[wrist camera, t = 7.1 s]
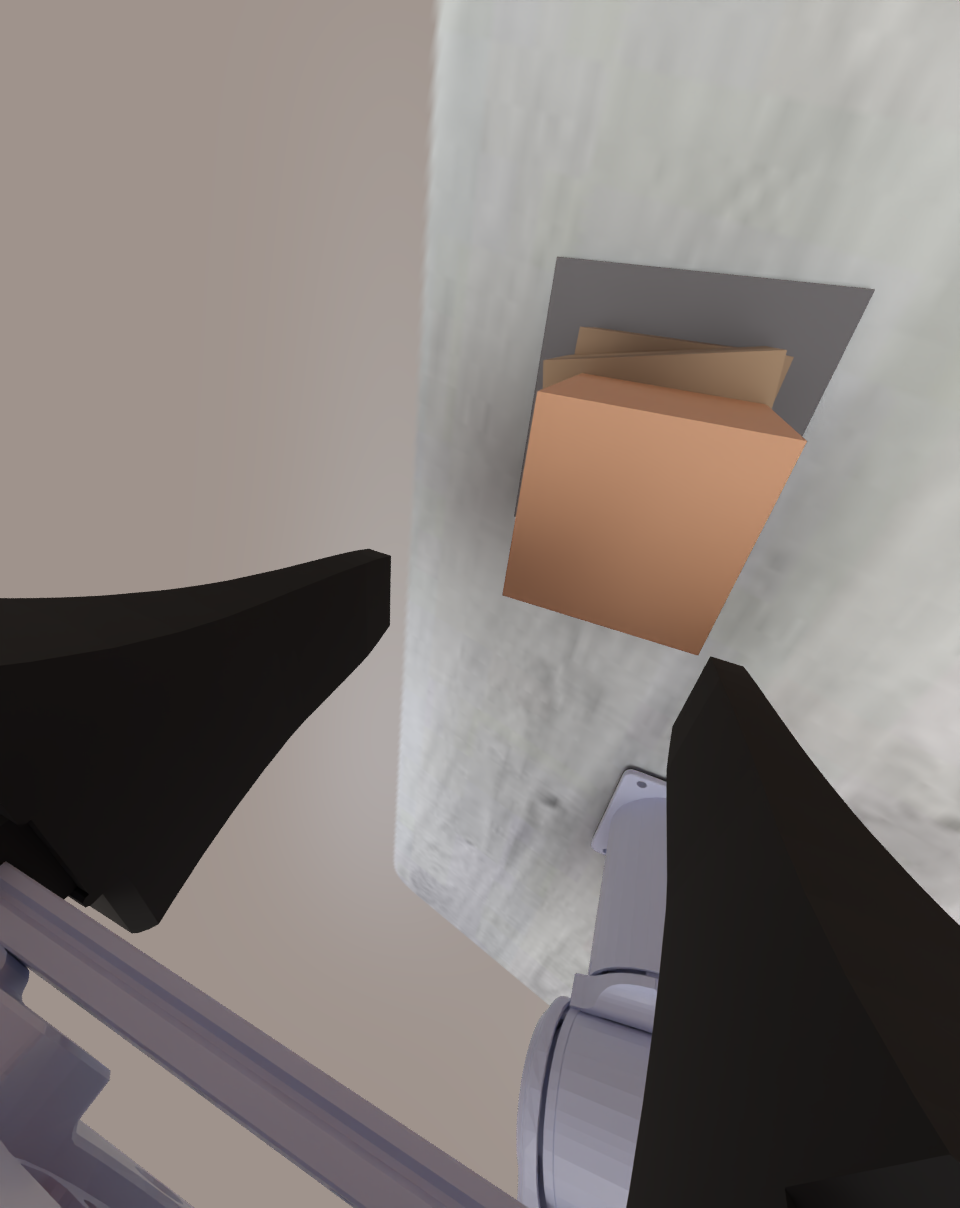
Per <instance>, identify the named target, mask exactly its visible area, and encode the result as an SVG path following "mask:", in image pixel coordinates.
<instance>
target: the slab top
mask: <svg viewBox="0 0 960 1208" xmlns="http://www.w3.org/2000/svg"><path fill="white" fill-rule="evenodd" d="M786 352H787V350H784V349H779V348H773V347H768V346H757V347H734V348H712V349H690V350H667V351H645V352H623V353H600V354H578V355H566V356H561V357H556V358H552V359H547V360H543V389H544V388H546V387H549V386H551V385H554V384H556V383H559V382H561V381H564V380H566V379H568V378H571V377H573V376H576V375H578V374H581V373H585V374H591V375H597V376H602V377H608V378H614V379H620V380H626V381H632V382H638V383H644V384H649V385H655V386H661V387H667V388H673V389H679V390H685V391H690V392H696V393H702V394H708V395H714V396H720V397H726V398H731V399H737V400H743V401H749V402H755V403H761V404H766V405H767V406H769V407H770V408H771V409H772V407H773V403H774V399H775V395H776V391H777V387H778V383H779V380H780V376H781V372H782V368H783V364H784V360H785V356H786Z"/></svg>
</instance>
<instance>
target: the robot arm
mask: <svg viewBox="0 0 960 1208" xmlns="http://www.w3.org/2000/svg"><path fill="white" fill-rule="evenodd" d="M390 572H391V556H390V555H387V554H384V553H380V552H377V551H374V550H371V549H364V550H358V551H353V552H347V553H343V554H339V555H335V556H331V557H327V558H323V559H319V560H315V561H311V562H307V563H303V564H299V565H295V566H291V567H287V568H283V569H279V570H274V571H270V572H265V573H261V574H256V575H252V576H247V577H243V578H238V579H233V580H228V581H223V582H217V583H211V584H205V585H198V586H192V587H185V588H178V589H171V590H161V591H151V592H139V593H128V594H117V595H105V596H87V597H64V598H15V599H14V598H11V599H10V598H0V1208H194V1207H193V1206H191V1205H190V1204H189V1203H188V1202H186V1201H185V1200H183V1199H182V1198H181V1197H180V1196H178V1195H177V1194H176V1193H175V1192H173V1191H172V1190H171V1189H169V1188H168V1187H167V1186H165V1185H164V1184H163V1183H161V1182H160V1181H159V1180H158V1179H156V1178H155V1177H153V1176H152V1175H151V1174H150V1173H148V1172H147V1171H146V1170H145V1169H143V1168H142V1167H141V1166H139V1165H138V1164H137V1163H135V1162H134V1161H133V1160H132V1159H130V1158H129V1157H128V1156H126V1155H125V1154H124V1153H123V1152H121V1151H120V1150H119V1149H117V1148H116V1147H115V1146H113V1145H112V1144H111V1143H110V1142H108V1141H107V1140H106V1139H104V1138H103V1137H102V1136H101V1135H99V1134H98V1133H97V1132H95V1131H94V1130H93V1129H91V1128H90V1127H89V1126H88V1125H86V1124H85V1123H84V1122H82V1121H81V1120H80V1118H81V1117H82V1115H83V1114H84V1112H85V1111H86V1110H87V1109H88V1107H89V1106H90V1104H91V1103H92V1102H93V1101H94V1100H95V1098H96V1097H97V1096H98V1094H99V1093H100V1092H101V1091H102V1089H103V1088H104V1087H105V1085H106V1084H107V1083H108V1081H109V1079H110V1070H109V1069H108V1068H107V1067H105V1066H104V1065H103V1064H101V1063H100V1062H99V1061H98V1060H96V1059H95V1058H94V1057H93V1056H91V1055H90V1054H89V1053H88V1052H86V1051H85V1050H84V1049H82V1048H81V1047H80V1046H78V1045H77V1044H76V1043H74V1042H73V1041H72V1040H71V1039H69V1038H68V1037H67V1036H65V1035H64V1034H63V1033H61V1032H60V1031H59V1030H57V1029H56V1028H55V1027H53V1026H52V1025H51V1024H49V1023H48V1022H47V1021H45V1020H44V1019H43V1018H41V1017H40V1016H38V1015H37V1014H36V1013H35V1012H33V1011H32V1010H31V1009H29V1008H28V1007H27V1006H25V1004H24V1003H23V1002H22V993H23V990H24V988H25V986H26V984H27V982H28V978H29V970H28V968H29V969H30V970H32V971H33V972H34V973H36V974H37V975H38V976H40V977H41V978H43V979H44V980H45V981H46V982H48V983H49V984H51V985H52V986H53V987H55V988H56V989H57V990H59V991H60V992H61V993H63V994H65V995H66V996H67V997H69V998H70V999H71V1000H72V1001H74V1002H75V1003H77V1004H78V1005H79V1006H81V1007H82V1008H83V1009H85V1010H86V1011H87V1012H89V1013H90V1014H91V1015H93V1016H94V1017H95V1018H97V1019H98V1020H99V1021H101V1022H102V1023H104V1024H105V1025H106V1026H108V1027H109V1028H110V1029H112V1030H113V1031H114V1032H116V1033H117V1034H118V1035H120V1036H121V1037H123V1038H124V1039H125V1040H127V1041H128V1042H129V1043H131V1044H132V1045H133V1046H135V1047H136V1048H137V1049H139V1050H140V1051H142V1052H143V1053H144V1054H146V1055H147V1056H148V1057H150V1058H151V1059H152V1060H154V1061H155V1062H156V1063H158V1064H159V1065H161V1066H162V1067H163V1068H165V1069H166V1070H168V1071H169V1072H170V1073H171V1074H173V1075H174V1076H176V1077H177V1078H178V1079H180V1080H181V1081H182V1082H184V1083H185V1084H187V1085H188V1086H189V1087H190V1088H192V1089H193V1090H195V1091H196V1092H197V1093H199V1094H200V1095H201V1096H203V1097H204V1098H205V1099H207V1100H208V1101H210V1102H211V1103H212V1104H213V1105H215V1106H216V1107H218V1108H219V1109H220V1110H222V1111H223V1112H224V1113H226V1114H227V1115H229V1116H230V1117H231V1118H232V1119H234V1120H235V1121H237V1122H238V1123H239V1124H241V1125H242V1126H243V1127H245V1128H246V1129H248V1130H249V1131H250V1132H251V1133H253V1134H254V1135H256V1136H257V1137H258V1138H260V1139H261V1140H262V1141H264V1142H265V1143H266V1144H268V1145H269V1146H270V1147H272V1148H274V1149H275V1150H276V1151H277V1152H279V1153H280V1154H281V1155H283V1156H284V1157H285V1158H287V1159H288V1160H290V1161H291V1162H292V1163H294V1164H295V1165H296V1166H298V1167H299V1168H300V1169H302V1170H303V1171H305V1172H306V1173H307V1174H309V1175H310V1176H311V1177H313V1178H314V1179H315V1180H317V1181H318V1182H319V1183H321V1184H322V1185H324V1186H325V1187H326V1188H328V1189H329V1190H330V1191H332V1192H333V1193H334V1194H336V1195H337V1196H339V1197H340V1198H341V1199H342V1200H344V1201H345V1202H347V1203H348V1204H349V1205H351V1206H352V1207H353V1208H960V925H958V924H957V923H956V922H955V921H954V920H953V919H952V918H951V917H950V916H949V915H948V914H947V913H946V912H945V911H944V910H943V909H942V908H941V907H940V906H939V905H938V904H937V903H936V902H935V901H934V900H933V899H932V898H931V897H930V896H929V895H928V894H927V893H926V892H925V891H924V890H923V889H922V887H921V886H920V885H919V884H918V883H917V882H916V881H915V880H914V879H913V878H912V877H911V876H910V875H909V874H908V873H907V872H906V870H905V869H904V868H903V867H902V866H901V865H900V864H899V863H898V862H897V861H896V860H895V859H894V858H893V856H892V855H891V854H890V853H889V852H888V851H887V850H886V849H885V848H884V847H883V846H882V845H881V843H880V842H879V841H878V840H877V839H876V838H875V837H874V836H873V835H872V834H871V832H870V831H869V830H868V829H867V828H866V827H865V826H864V824H863V823H862V822H861V821H860V820H859V819H858V818H857V816H856V815H855V814H854V813H853V812H852V810H851V809H850V808H849V807H848V806H847V804H846V803H845V802H844V801H843V799H842V798H841V797H840V796H839V795H838V793H837V792H836V791H835V790H834V788H833V787H832V786H831V785H830V784H829V782H828V781H827V780H826V779H825V777H824V776H823V775H822V774H821V772H820V771H819V770H818V768H817V767H816V766H815V764H814V763H813V762H812V761H811V759H810V758H809V757H808V755H807V754H806V753H805V751H804V750H803V749H802V747H801V746H800V745H799V743H798V742H797V741H796V739H795V738H794V736H793V735H792V734H791V732H790V731H789V730H788V728H787V727H786V725H785V724H784V723H783V721H782V720H781V718H780V717H779V715H778V714H777V713H776V711H775V710H774V708H773V707H772V705H771V704H770V703H769V701H768V700H767V698H766V697H765V695H764V694H763V693H762V691H761V690H760V688H759V687H758V685H757V684H756V683H755V681H754V680H753V678H752V677H751V676H750V674H749V673H748V672H747V671H746V669H745V668H744V667H743V666H739V665H736V664H733V663H730V662H727V661H724V660H720V659H717V658H714V657H711V656H710V658H709V660H708V662H707V664H706V666H705V667H704V669H703V671H702V673H701V675H700V677H699V679H698V680H697V682H696V684H695V686H694V688H693V690H692V691H691V693H690V695H689V697H688V699H687V701H686V703H685V704H684V706H683V708H682V710H681V712H680V714H679V716H678V717H677V719H676V721H675V723H674V725H673V727H672V734H671V741H670V747H669V755H668V763H667V778H666V782H665V781H663V780H660V779H658V778H655V777H652V776H650V775H647V774H644V773H642V772H639V771H636V770H633V769H628V770H626V771H625V772H624V773H623V775H622V777H621V779H620V782H619V784H618V786H617V788H616V790H615V792H614V794H613V796H612V798H611V801H610V803H609V805H608V807H607V809H606V811H605V813H604V815H603V818H602V820H601V822H600V824H599V826H598V828H597V830H596V832H595V834H594V837H593V839H592V843H591V847H592V848H593V849H594V850H595V851H597V852H599V853H601V854H603V855H606V857H605V864H604V870H603V877H602V884H601V890H600V897H599V904H598V910H597V917H596V923H595V930H594V937H593V943H592V950H591V957H590V963H589V970H588V975H584V974H579V973H576V974H575V977H574V983H573V988H572V994H571V998H569V997H566V996H560V997H558V998H556V999H555V1000H554V1001H553V1003H552V1004H551V1005H550V1007H549V1008H548V1009H547V1010H546V1011H545V1012H544V1013H543V1015H542V1016H541V1018H540V1019H539V1021H538V1023H537V1025H536V1027H535V1030H534V1032H533V1035H532V1038H531V1041H530V1044H529V1048H528V1052H527V1055H526V1060H525V1064H524V1069H523V1074H522V1080H521V1087H520V1094H519V1103H518V1114H517V1158H518V1159H517V1160H518V1197H517V1200H516V1199H514V1198H513V1197H511V1196H510V1195H508V1194H507V1193H505V1192H504V1191H502V1190H501V1189H499V1188H498V1187H496V1186H495V1185H493V1184H492V1183H490V1182H489V1181H487V1180H486V1179H484V1178H483V1177H481V1176H480V1175H478V1174H477V1173H475V1172H474V1171H472V1170H471V1169H469V1168H468V1167H466V1166H465V1165H463V1164H462V1163H460V1162H458V1161H457V1160H456V1159H454V1158H452V1157H451V1156H450V1155H448V1154H447V1153H445V1152H444V1151H442V1150H440V1149H439V1148H438V1147H436V1146H434V1145H433V1144H431V1143H430V1142H428V1141H427V1140H425V1139H424V1138H422V1137H421V1136H419V1135H418V1134H416V1133H415V1132H413V1131H412V1130H410V1129H409V1128H407V1127H406V1126H404V1125H403V1124H401V1123H400V1122H398V1121H397V1120H395V1119H394V1118H392V1117H391V1116H389V1115H388V1114H386V1113H385V1112H383V1111H382V1110H380V1109H379V1108H377V1107H376V1106H374V1105H372V1104H371V1103H370V1102H368V1101H366V1100H365V1099H364V1098H362V1097H361V1096H359V1095H358V1094H356V1093H355V1092H353V1091H351V1090H350V1089H349V1088H347V1087H346V1086H344V1085H342V1084H341V1083H339V1082H338V1081H336V1080H335V1079H333V1078H332V1077H330V1076H329V1075H327V1074H326V1073H324V1072H323V1071H321V1070H320V1069H318V1068H317V1067H315V1066H314V1065H312V1064H311V1063H309V1062H308V1061H306V1060H305V1059H303V1058H302V1057H300V1056H299V1055H297V1054H296V1053H294V1052H292V1051H291V1050H289V1049H288V1048H287V1047H285V1046H283V1045H282V1044H281V1043H279V1042H278V1041H276V1040H275V1039H273V1038H272V1037H270V1036H269V1035H267V1034H265V1033H264V1032H263V1031H261V1030H260V1029H258V1028H257V1027H255V1026H254V1025H252V1024H251V1023H249V1022H247V1021H246V1020H244V1019H243V1018H241V1017H240V1016H238V1015H237V1014H235V1013H234V1012H232V1011H231V1010H229V1009H228V1008H226V1007H225V1006H223V1005H222V1004H220V1003H219V1002H217V1001H216V1000H214V999H213V998H211V997H210V996H208V995H207V994H205V993H204V992H202V991H201V990H199V989H198V988H196V987H195V986H193V985H192V984H190V983H189V982H187V981H186V980H184V979H182V978H181V977H180V976H178V975H177V974H175V973H173V972H172V971H170V970H169V969H168V968H166V967H164V966H163V965H162V964H160V963H158V962H157V961H155V960H154V959H152V958H151V957H149V956H148V955H146V954H145V953H143V952H142V951H140V950H139V949H137V948H136V947H134V946H133V945H131V944H130V943H128V942H127V941H125V940H124V939H122V938H121V937H119V936H118V935H116V934H115V933H113V932H112V931H110V930H109V929H107V928H106V927H104V926H103V925H101V924H100V923H98V922H97V921H95V920H94V919H92V918H91V917H89V916H87V915H86V914H85V913H83V912H81V911H80V910H79V909H77V908H76V907H74V906H73V905H71V904H70V903H68V902H66V901H65V900H64V899H65V898H66V897H67V896H69V897H70V898H72V899H74V900H75V901H76V902H78V903H79V904H81V905H82V906H84V907H87V906H91V907H92V908H94V909H96V910H97V911H98V912H100V913H102V914H103V915H105V916H106V917H108V918H109V919H111V920H112V921H114V922H115V923H117V924H118V925H120V926H121V927H123V928H124V929H126V930H128V931H129V932H131V933H139V932H142V931H145V930H148V929H150V928H152V927H154V926H156V925H158V924H159V923H160V921H161V919H162V918H163V916H164V915H165V913H166V911H167V910H168V908H169V907H170V905H171V903H172V902H173V900H174V899H175V897H176V895H177V893H179V891H180V889H181V888H182V886H183V885H184V883H185V882H186V880H187V879H188V877H189V876H190V874H191V873H192V871H193V869H194V867H195V866H196V865H197V863H198V862H199V860H200V859H201V857H202V855H203V854H204V853H205V851H206V850H207V848H208V847H209V845H210V844H211V843H212V841H213V840H214V838H215V837H216V835H217V834H218V833H219V831H220V829H221V828H222V827H223V825H224V824H225V823H226V821H227V820H228V818H229V816H230V815H231V814H232V813H233V811H234V810H235V808H236V807H237V805H238V804H239V803H240V801H241V800H242V799H243V798H244V796H245V795H246V793H247V792H248V791H249V789H250V788H251V787H252V785H253V784H254V783H255V781H256V780H257V779H258V777H259V776H260V774H261V773H262V772H263V771H264V769H265V768H266V767H267V766H268V764H269V763H270V762H271V761H272V759H273V758H274V757H275V756H276V754H277V753H278V752H279V751H280V749H281V748H282V747H283V745H284V744H285V743H286V742H287V740H288V739H289V738H290V737H291V736H292V734H293V733H294V732H295V731H296V730H297V729H298V728H299V727H300V726H301V724H302V723H303V722H304V721H305V720H306V719H307V718H308V717H309V716H310V715H311V714H312V713H313V712H314V711H315V710H316V709H317V708H318V707H319V706H320V705H321V704H322V703H323V701H325V700H326V699H327V698H328V697H329V696H330V695H331V694H332V692H333V691H334V690H335V689H336V688H337V687H338V686H339V685H340V684H341V683H342V682H343V681H344V680H345V679H346V678H347V677H348V676H349V675H350V674H351V673H352V672H353V671H354V670H355V669H356V668H357V667H358V665H360V664H361V663H362V661H363V660H364V659H365V658H366V657H367V656H368V655H369V653H370V652H371V651H372V650H373V648H374V647H375V646H376V644H377V643H378V642H379V640H380V639H381V637H382V636H383V634H384V633H385V631H386V630H387V629H388V627H389V626H390V576H391V573H390ZM640 781H643V782H640Z"/></svg>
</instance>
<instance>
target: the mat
mask: <svg viewBox="0 0 960 1208" xmlns="http://www.w3.org/2000/svg"><path fill="white" fill-rule="evenodd" d="M874 291H875V289H866V288H856V287H846V286H836V285H827V284H817V283H807V282H798V281H788V280H778V279H768V278H759V277H749V276H739V275H729V274H720V273H710V272H700V271H691V270H681V269H671V268H661V267H652V266H642V265H632V264H623V263H613V262H603V261H593V260H584V259H574V258H564V257H557V261H556V267H555V273H554V279H553V285H552V291H551V297H550V303H549V309H548V315H547V321H546V327H545V333H544V339H543V345H542V351H541V357H540V363H539V369H538V375H537V382H536V388H535V394H534V400H533V406H532V412H531V418H530V424H529V430H528V436H527V442H526V448H525V454H524V460H523V466H522V472H521V478H520V484H519V490H518V496H517V502H516V509H515V515H514V517H516V513H517V507H518V501H519V495H520V489H521V484H522V478H523V472H524V466H525V460H526V454H527V449H528V443H529V437H530V431H531V425H532V419H533V413H534V408H535V402H536V396H537V391H539V390H541V389H543V360H547V359H552V358H556V357H561V356H566V355H574V354H575V349H576V344H577V339H578V334H579V329H580V327H597V328H604V329H611V330H618V331H626V332H633V333H640V334H647V335H654V336H661V337H668V338H675V339H682V340H690V341H697V342H704V343H711V344H718V345H725V346H732V347H757V346H768V347H773V348H779V349H784V350H787V352H786V355H788V356H792V357H794V358H793V360H792V362H791V365H790V367H789V369H788V371H787V374H786V376H785V378H784V380H783V383H782V385H781V387H780V389H779V392H778V394H777V396H776V398H775V401H774V403H773V407H772V410H773V411H774V412H775V413H776V414H777V415H779V416H780V417H781V418H782V419H783V420H784V421H785V422H786V423H787V424H789V425H790V426H791V427H792V428H793V429H794V430H795V431H796V432H797V433H799V434H800V435H801V436H803V434H804V432H805V430H806V428H807V426H808V424H809V422H810V420H811V418H812V416H813V414H814V412H815V409H816V407H817V405H818V403H819V401H820V399H821V397H822V395H823V393H824V391H825V389H826V387H827V385H828V383H829V381H830V379H831V377H832V375H833V373H834V371H835V369H836V367H837V365H838V363H839V361H840V359H841V357H842V355H843V353H844V351H845V349H846V347H847V345H848V343H849V341H850V339H851V337H852V335H853V333H854V331H855V329H856V327H857V325H858V323H859V321H860V319H861V317H862V315H863V313H864V311H865V309H866V307H867V305H868V303H869V301H870V299H871V297H872V295H873V293H874Z"/></svg>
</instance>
